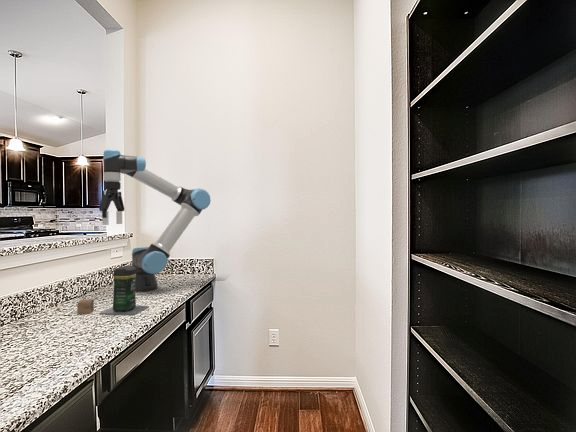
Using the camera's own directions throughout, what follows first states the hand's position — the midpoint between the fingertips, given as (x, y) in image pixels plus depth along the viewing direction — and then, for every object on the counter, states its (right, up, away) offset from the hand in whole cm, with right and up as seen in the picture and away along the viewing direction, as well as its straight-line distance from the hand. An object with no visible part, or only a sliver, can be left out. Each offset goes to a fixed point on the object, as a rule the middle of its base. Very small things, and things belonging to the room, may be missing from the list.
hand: (112, 224), depth 181 cm
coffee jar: (+17, -36, -24) cm, 47 cm away
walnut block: (+2, -37, -27) cm, 46 cm away
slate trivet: (+17, -37, -24) cm, 47 cm away
